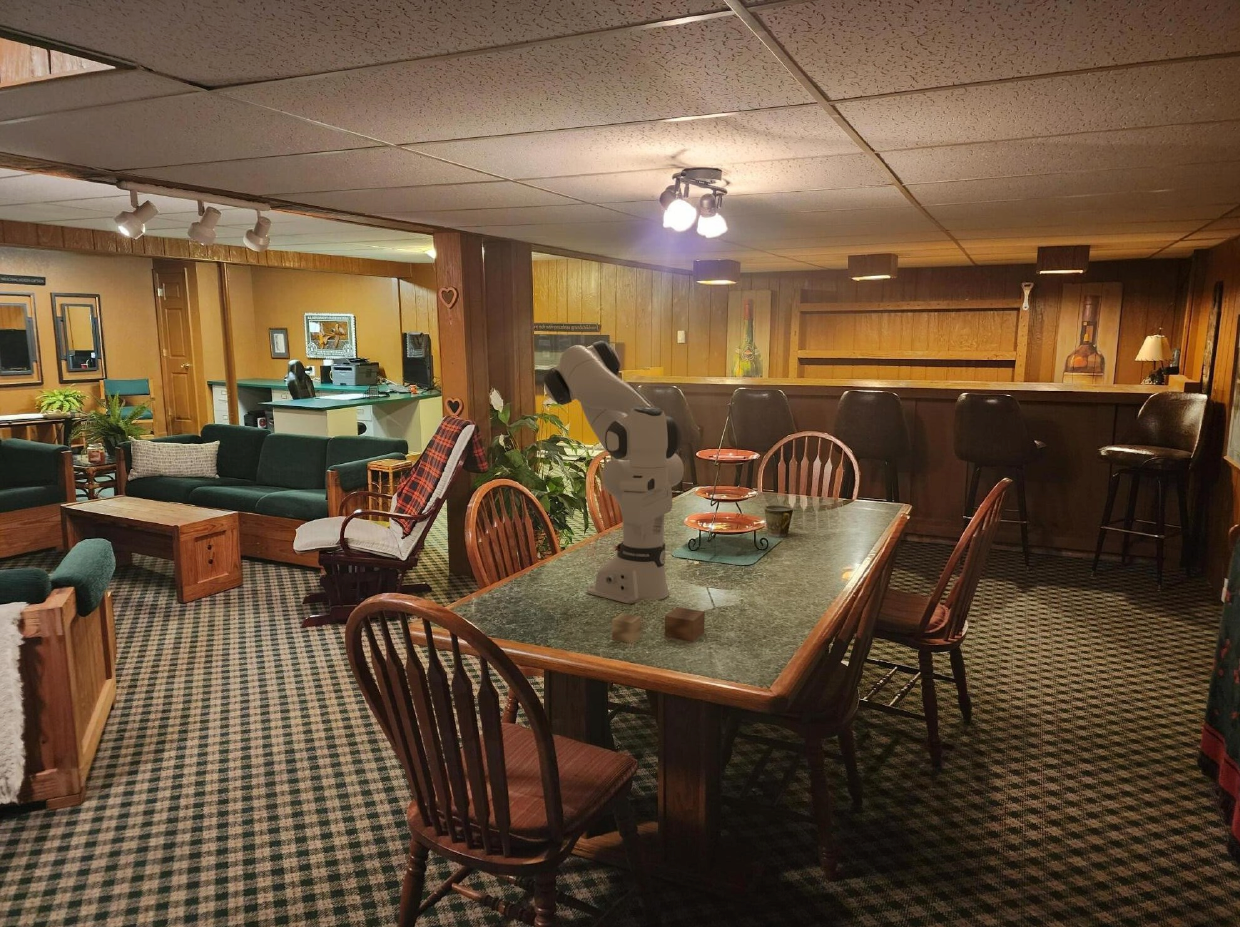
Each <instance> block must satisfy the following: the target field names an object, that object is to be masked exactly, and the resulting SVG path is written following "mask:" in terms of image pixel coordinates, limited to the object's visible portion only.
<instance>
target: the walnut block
mask: <svg viewBox="0 0 1240 927" xmlns="http://www.w3.org/2000/svg"><path fill="white" fill-rule="evenodd" d="M705 613H706V611H703V610H699V609H691V608H685V607H679V606H676V607H675V608H674V609H672V610H671V611H670V612H668V613H667V614H666V615H664V635H665V637H669V638H674V639H680V640H685V641H690V642H694V641H695V640H696V639H697V638H698V637H699V636H700V635H702V634H703V633H704V631H705V618H706V617H705V615H706V614H705ZM674 639H673V640H674ZM685 641H684V642H685ZM690 642H689V643H690Z"/></svg>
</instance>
